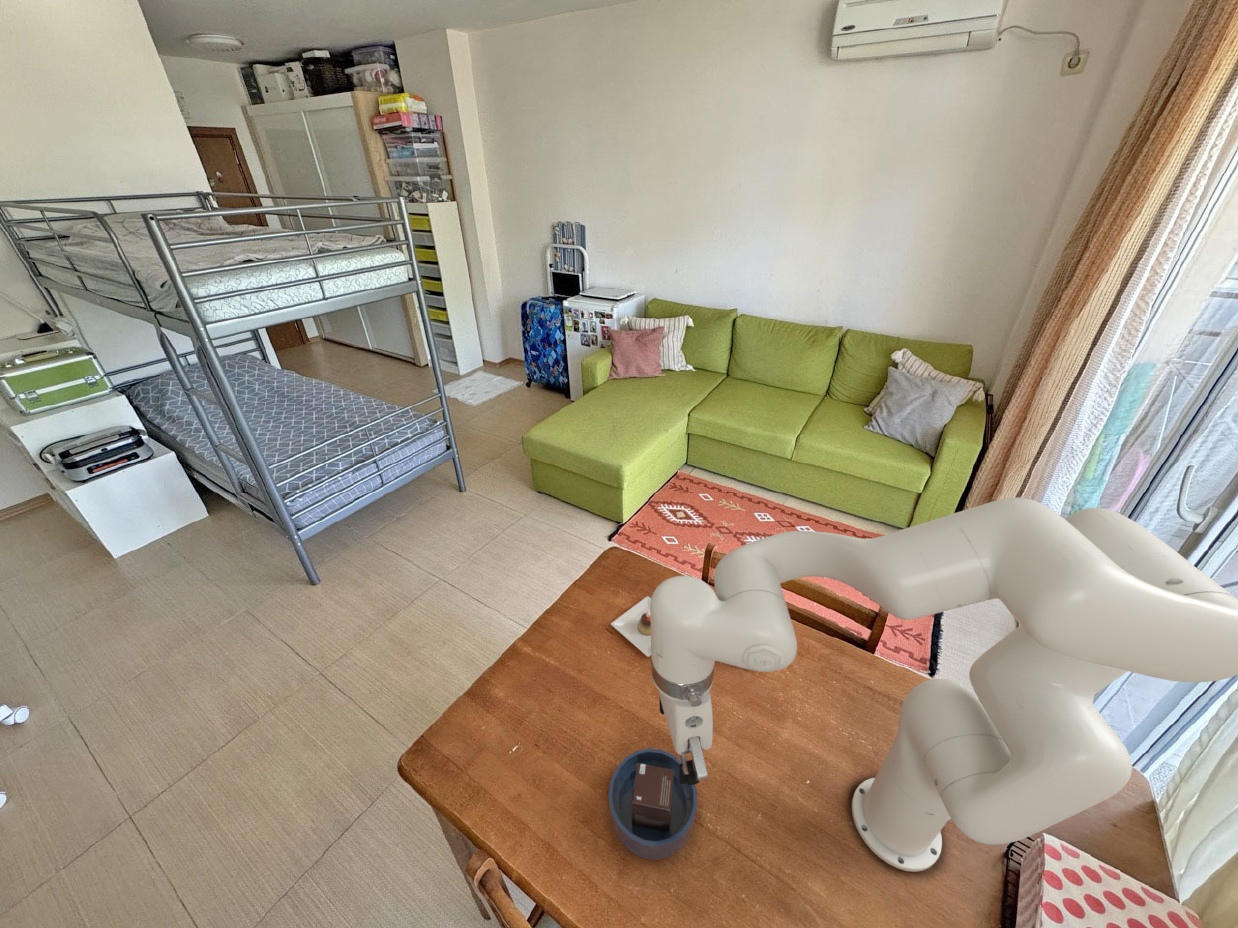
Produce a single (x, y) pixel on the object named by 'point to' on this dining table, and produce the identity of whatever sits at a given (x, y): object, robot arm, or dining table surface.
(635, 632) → the dessert
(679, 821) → the bowl
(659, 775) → the box
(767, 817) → the dining table surface
